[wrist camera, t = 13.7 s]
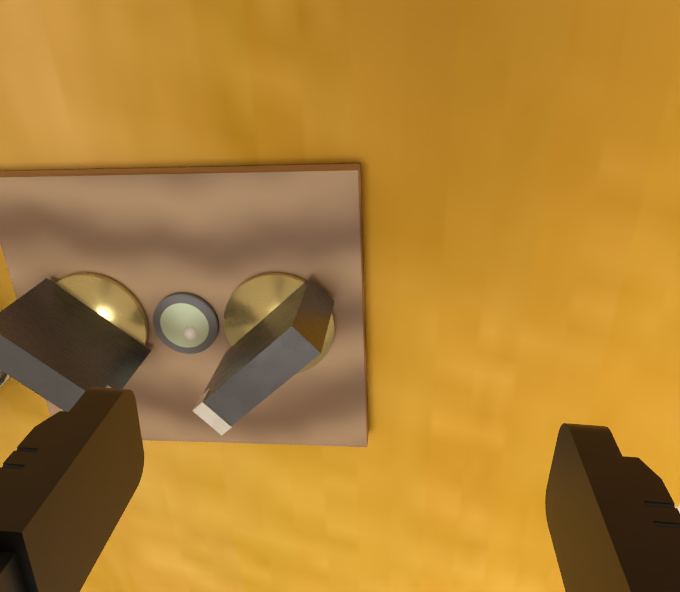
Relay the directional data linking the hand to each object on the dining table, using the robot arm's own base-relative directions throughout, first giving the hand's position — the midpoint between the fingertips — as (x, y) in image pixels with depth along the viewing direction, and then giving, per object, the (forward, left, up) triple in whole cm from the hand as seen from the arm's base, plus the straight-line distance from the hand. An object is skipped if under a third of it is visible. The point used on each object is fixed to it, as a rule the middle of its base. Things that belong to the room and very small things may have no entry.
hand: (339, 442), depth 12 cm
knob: (+13, -8, -30) cm, 33 cm away
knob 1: (+13, -22, -30) cm, 39 cm away
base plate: (+13, -15, -32) cm, 37 cm away
